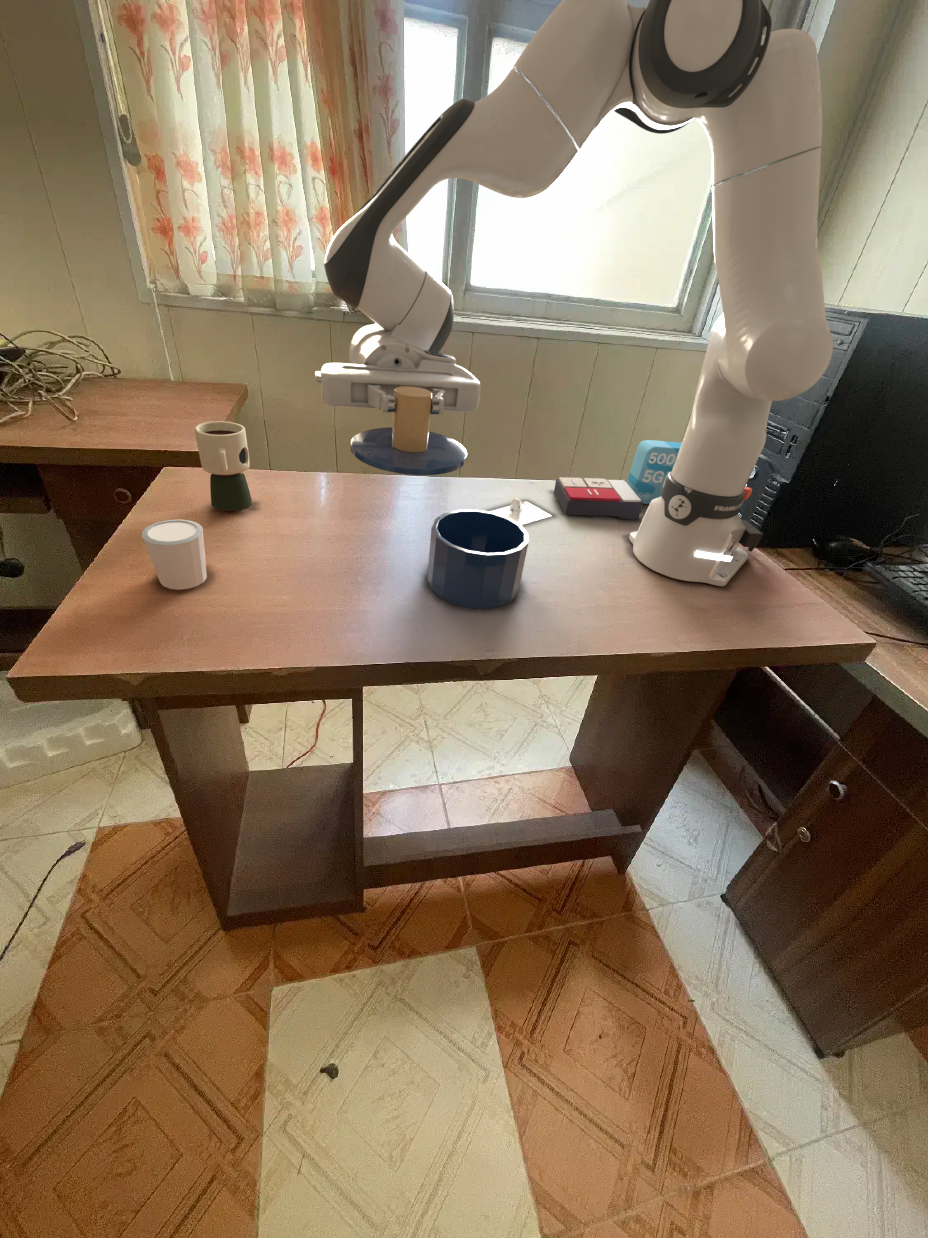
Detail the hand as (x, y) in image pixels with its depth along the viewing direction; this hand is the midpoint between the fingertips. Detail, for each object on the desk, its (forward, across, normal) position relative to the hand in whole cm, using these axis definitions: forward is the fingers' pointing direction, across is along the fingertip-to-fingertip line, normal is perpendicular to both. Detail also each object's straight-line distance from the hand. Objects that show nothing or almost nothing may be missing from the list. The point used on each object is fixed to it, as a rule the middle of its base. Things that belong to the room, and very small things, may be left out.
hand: (414, 406), depth 61 cm
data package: (-25, +60, +24) cm, 69 cm away
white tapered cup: (-4, -29, +24) cm, 38 cm away
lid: (-1, 0, +6) cm, 6 cm away
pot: (+2, +10, +24) cm, 26 cm away
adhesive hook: (-20, +27, +24) cm, 42 cm away
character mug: (-25, -24, +25) cm, 43 cm away
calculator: (-22, +44, +24) cm, 55 cm away
